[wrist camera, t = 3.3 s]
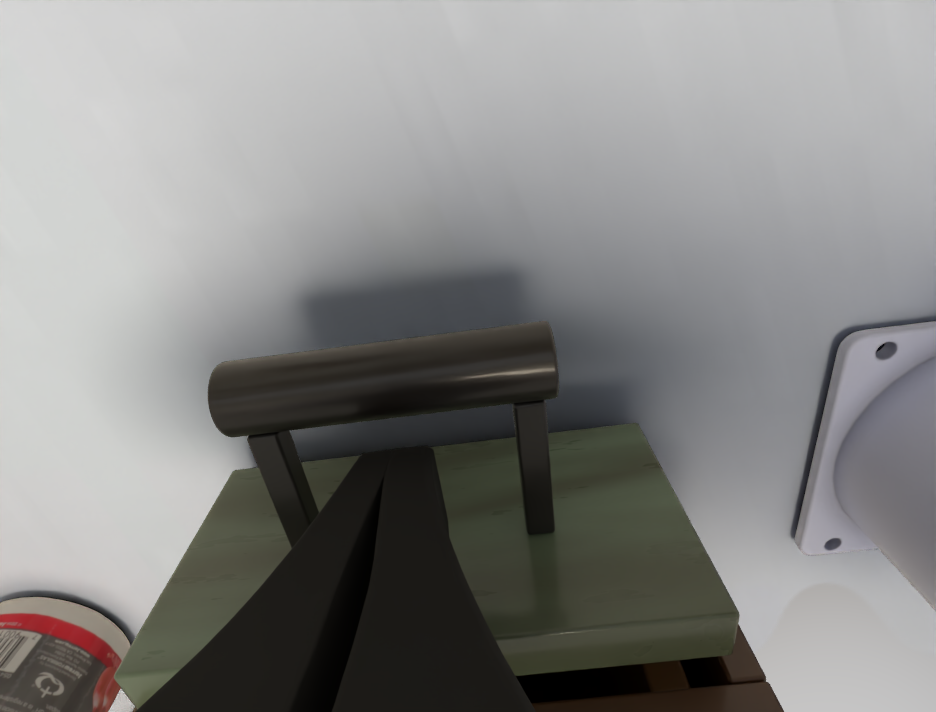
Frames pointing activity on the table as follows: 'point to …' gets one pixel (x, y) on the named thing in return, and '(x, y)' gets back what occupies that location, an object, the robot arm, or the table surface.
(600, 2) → the table surface
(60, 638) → the pill bottle
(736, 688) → the cabinet
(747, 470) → the table surface
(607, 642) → the drawer
